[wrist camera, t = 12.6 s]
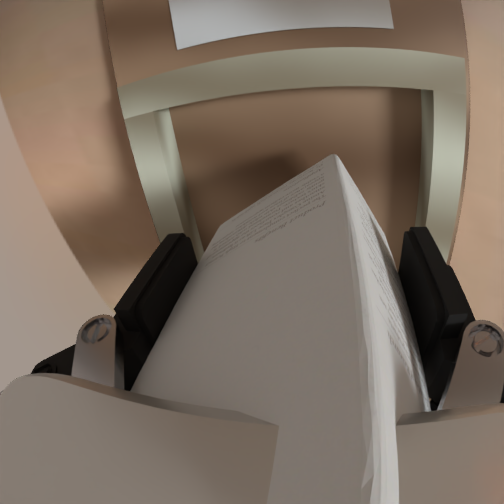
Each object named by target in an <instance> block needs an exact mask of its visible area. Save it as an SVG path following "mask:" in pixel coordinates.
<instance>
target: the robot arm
mask: <svg viewBox="0 0 504 504" xmlns="http://www.w3.org/2000/svg"><path fill="white" fill-rule="evenodd" d="M197 265H198V262H197V259H196V255H195V252H194V248H193V245H192V241H191V239H190V237H186V235H185V234H184V233H171V234H168V235H167V236H166V237H165V238H164V240H163V241H162V242H161V244H160V245H159V246H158V248H157V249H156V250H155V252H154V253H153V254H152V256H151V257H150V258H149V260H148V261H147V263H146V264H145V265H144V267H143V268H142V269H141V271H140V272H139V274H138V275H137V276H136V278H135V279H134V281H133V282H132V283H131V285H130V286H129V288H128V289H127V291H126V292H125V293H124V295H123V296H122V298H121V299H120V301H119V302H118V304H117V305H116V307H115V308H114V310H115V312H116V314H115V316H114V317H112V316H110V315H104V314H103V315H98V316H95V317H93V318H91V319H89V320H88V321H86V322H85V323H84V324H83V325H82V327H81V328H80V330H79V332H78V335H77V340H76V344H75V345H73V346H71V347H69V348H67V349H65V350H63V351H61V352H59V353H57V354H55V355H53V356H51V357H49V358H47V359H45V360H43V361H41V362H40V363H38V364H37V365H36V366H35V368H34V369H33V371H32V373H31V374H28V375H24V376H21V377H19V378H16V379H15V380H13V381H12V382H11V383H10V384H9V385H8V386H7V387H6V388H5V390H3V391H1V392H0V504H267V499H268V494H269V488H270V482H271V476H272V470H273V464H274V457H275V451H276V444H277V437H278V430H279V426H278V425H275V424H272V423H270V422H267V421H264V420H261V419H258V418H255V417H253V416H250V415H247V414H244V413H241V412H239V411H234V410H226V409H219V408H212V407H205V406H199V405H193V404H187V403H181V402H176V401H171V400H166V399H161V398H156V397H151V396H147V395H143V394H138V393H134V392H130V391H131V389H132V387H133V385H134V383H135V381H136V379H137V377H138V375H139V373H140V371H141V369H142V367H143V365H144V363H145V361H146V359H147V357H148V356H149V354H150V352H151V350H152V348H153V346H154V344H155V342H156V340H157V339H158V337H159V335H160V333H161V331H162V329H163V327H164V325H165V323H166V321H167V320H168V318H169V316H170V314H171V312H172V310H173V308H174V306H175V304H176V303H177V301H178V299H179V297H180V295H181V293H182V292H183V290H184V288H185V286H186V284H187V283H188V281H189V279H190V277H191V275H192V274H193V272H194V270H195V268H196V267H197ZM398 274H399V278H400V281H401V284H402V287H403V290H404V294H405V297H406V301H407V304H408V308H409V311H410V314H411V318H412V322H413V326H414V330H415V334H416V338H417V343H418V347H419V352H420V356H421V360H422V365H423V370H424V374H425V379H426V385H427V390H428V395H429V401H430V408H431V411H427V412H417V413H405V414H402V416H401V417H400V418H399V420H398V422H397V424H396V426H395V428H396V442H397V456H398V477H399V504H504V332H503V330H502V329H501V328H500V327H499V326H497V325H496V324H494V323H492V322H490V321H486V320H475V318H474V315H473V313H472V310H471V308H470V306H469V303H468V301H467V299H466V297H465V294H464V292H463V290H462V288H461V286H460V283H459V281H458V279H457V277H456V275H455V273H454V271H453V269H452V267H451V266H449V265H447V264H446V262H445V260H444V258H443V256H442V254H441V252H440V250H439V248H438V246H437V245H436V243H435V241H434V239H433V237H432V235H431V233H430V232H429V230H428V228H427V227H410V229H409V231H405V232H404V236H403V244H402V251H401V258H400V265H399V271H398Z"/></svg>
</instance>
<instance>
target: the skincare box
mask: <svg viewBox="0 0 504 504" xmlns="http://www.w3.org/2000/svg"><path fill="white" fill-rule="evenodd" d="M130 392H134V393H138V394H143V395H147V396H151V397H156V398H161V399H166V400H171V401H176V402H181V403H187V404H193V405H199V406H205V407H212V408H219V409H226V410H234V411H239V412H241V413H244V414H247V415H250V416H253V417H255V418H258V419H261V420H264V421H267V422H270V423H272V424H275V425H278V426H279V430H278V437H277V444H276V451H275V457H274V464H273V470H272V476H271V482H270V488H269V494H268V499H267V504H399V477H398V456H397V442H396V428H395V426H396V424H397V422H398V420H399V418H400V417H401V416H402V414H405V413H417V412H427V411H431V408H430V401H429V395H428V390H427V385H426V379H425V374H424V370H423V365H422V360H421V356H420V352H419V347H418V343H417V338H416V334H415V330H414V326H413V322H412V318H411V314H410V311H409V308H408V304H407V301H406V297H405V294H404V290H403V287H402V284H401V281H400V278H399V274H398V271H397V268H396V265H395V262H394V259H393V256H392V253H391V251H390V248H389V245H388V242H387V240H386V236H385V234H384V232H383V231H382V229H381V227H380V225H379V224H378V222H377V220H376V219H375V217H374V215H373V213H372V212H371V210H370V208H369V207H368V205H367V203H366V201H365V200H364V198H363V196H362V195H361V193H360V191H359V190H358V188H357V186H356V185H355V183H354V181H353V180H352V178H351V176H350V175H349V173H348V172H347V170H346V168H345V167H344V165H343V163H342V162H341V160H340V158H339V157H338V156H337V155H335V154H331V155H329V156H328V157H326V158H324V159H323V160H321V161H320V162H318V163H316V164H315V165H313V166H312V167H310V168H308V169H307V170H305V171H303V172H302V173H300V174H299V175H297V176H295V177H294V178H292V179H291V180H289V181H287V182H286V183H284V184H283V185H281V186H280V187H278V188H276V189H275V190H273V191H272V192H270V193H269V194H267V195H266V196H264V197H262V198H261V199H259V200H258V201H256V202H255V203H253V204H252V205H250V206H249V207H247V208H246V209H244V210H242V211H241V212H239V213H238V214H236V215H235V216H233V217H232V218H230V219H229V220H227V221H226V222H224V223H223V224H222V225H220V227H219V228H218V230H217V232H216V233H215V235H214V237H213V239H212V240H211V242H210V244H209V245H208V247H207V249H206V251H205V252H204V254H203V256H202V258H201V259H200V261H199V263H198V265H197V267H196V268H195V270H194V272H193V274H192V275H191V277H190V279H189V281H188V283H187V284H186V286H185V288H184V290H183V292H182V293H181V295H180V297H179V299H178V301H177V303H176V304H175V306H174V308H173V310H172V312H171V314H170V316H169V318H168V320H167V321H166V323H165V325H164V327H163V329H162V331H161V333H160V335H159V337H158V339H157V340H156V342H155V344H154V346H153V348H152V350H151V352H150V354H149V356H148V357H147V359H146V361H145V363H144V365H143V367H142V369H141V371H140V373H139V375H138V377H137V379H136V381H135V383H134V385H133V387H132V389H131V391H130Z"/></svg>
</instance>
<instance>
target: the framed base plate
mask: <svg viewBox="0 0 504 504" xmlns="http://www.w3.org/2000/svg"><path fill="white" fill-rule="evenodd" d="M102 2H103V9H104V16H105V23H106V29H107V35H108V41H109V47H110V52H111V58H112V63H113V68H114V73H115V78H116V83H117V87H118V88H117V91H118V95H119V100H120V104H121V109H122V113H123V117H124V121H125V125H126V129H127V133H128V137H129V141H130V145H131V148H132V152H133V156H134V159H135V163H136V167H137V170H138V174H139V177H140V180H141V184H142V187H143V191H144V194H145V197H146V200H147V204H148V207H149V210H150V213H151V216H152V219H153V222H154V226H155V229H156V232H157V235H158V238H159V241H160V243H161V242H162V241H163V240H164V238H165V237H166V236H167V235H168V234H171V233H184V234H185V235H186V237H190V239H191V241H192V245H193V248H194V252H195V255H196V259H197V262H198V263H199V261H200V259H201V258H202V256H203V254H204V252H205V251H206V249H207V247H208V245H209V244H210V242H211V240H212V239H213V237H214V235H215V233H216V232H217V230H218V228H219V227H220V225H222V224H223V223H224V222H226V221H227V220H229V219H230V218H232V217H233V216H235V215H236V214H238V213H239V212H241V211H242V210H244V209H246V208H247V207H249V206H250V205H252V204H253V203H255V202H256V201H258V200H259V199H261V198H262V197H264V196H266V195H267V194H269V193H270V192H272V191H273V190H275V189H276V188H278V187H280V186H281V185H283V184H284V183H286V182H287V181H289V180H291V179H292V178H294V177H295V176H297V175H299V174H300V173H302V172H303V171H305V170H307V169H308V168H310V167H312V166H313V165H315V164H316V163H318V162H320V161H321V160H323V159H324V158H326V157H328V156H329V155H331V154H335V155H337V156H338V157H339V158H340V160H341V162H342V163H343V165H344V167H345V168H346V170H347V172H348V173H349V175H350V176H351V178H352V180H353V181H354V183H355V185H356V186H357V188H358V190H359V191H360V193H361V195H362V196H363V198H364V200H365V201H366V203H367V205H368V207H369V208H370V210H371V212H372V213H373V215H374V217H375V219H376V220H377V222H378V224H379V225H380V227H381V229H382V231H383V232H384V234H385V236H386V240H387V242H388V245H389V248H390V251H391V253H392V256H393V259H394V262H395V265H396V268H397V271H399V265H400V258H401V251H402V244H403V236H404V232H405V231H409V229H410V227H427V228H428V230H429V232H430V233H431V235H432V237H433V239H434V241H435V243H436V245H437V246H438V248H439V250H440V252H441V254H442V256H443V258H444V260H445V262H446V264H447V265H449V264H450V260H451V256H452V251H453V247H454V243H455V238H456V233H457V228H458V223H459V218H460V212H461V206H462V200H463V194H464V186H465V179H466V170H467V160H468V148H469V131H470V75H469V59H468V48H467V39H466V31H465V23H464V17H463V11H462V5H461V0H102Z"/></svg>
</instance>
